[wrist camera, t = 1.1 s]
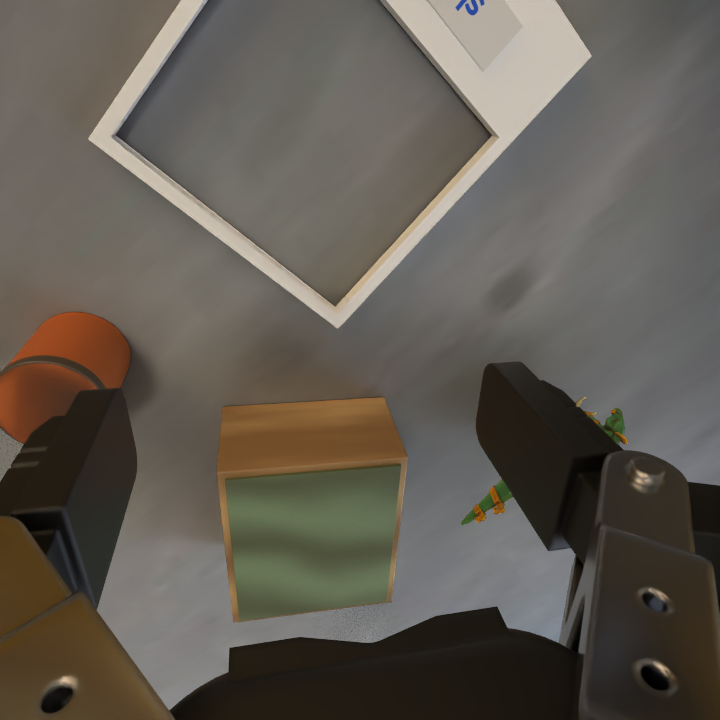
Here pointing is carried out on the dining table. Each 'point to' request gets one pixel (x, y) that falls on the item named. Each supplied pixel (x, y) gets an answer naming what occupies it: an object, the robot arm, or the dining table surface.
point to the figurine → (502, 493)
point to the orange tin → (60, 370)
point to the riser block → (310, 505)
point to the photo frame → (455, 63)
